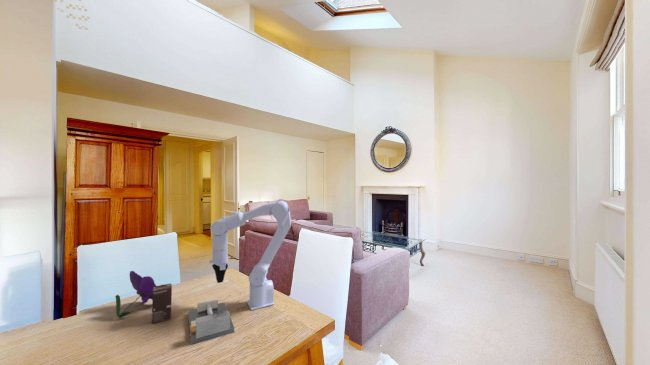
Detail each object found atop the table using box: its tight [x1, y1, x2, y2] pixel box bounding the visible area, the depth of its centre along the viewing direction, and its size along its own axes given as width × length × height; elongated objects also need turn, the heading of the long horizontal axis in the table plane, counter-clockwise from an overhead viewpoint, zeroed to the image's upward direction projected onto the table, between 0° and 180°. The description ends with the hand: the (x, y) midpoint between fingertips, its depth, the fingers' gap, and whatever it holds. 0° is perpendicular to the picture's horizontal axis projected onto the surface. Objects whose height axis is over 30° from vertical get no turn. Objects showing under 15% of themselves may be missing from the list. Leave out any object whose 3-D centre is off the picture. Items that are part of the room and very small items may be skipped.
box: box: [151, 283, 173, 324], centre depth 93 cm, size 6×4×12 cm
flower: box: [115, 270, 157, 318], centre depth 98 cm, size 15×15×14 cm
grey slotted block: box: [197, 297, 219, 315], centre depth 94 cm, size 8×7×3 cm
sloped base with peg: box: [187, 301, 235, 345], centre depth 91 cm, size 20×13×6 cm, turn 31°
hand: (220, 281), depth 104 cm, fingers closed
